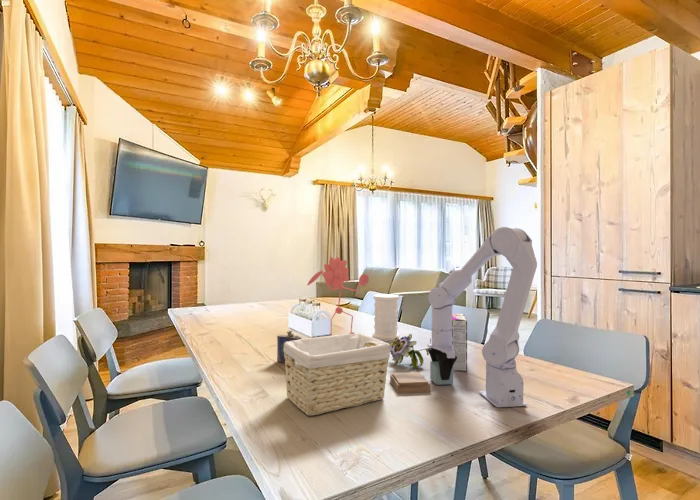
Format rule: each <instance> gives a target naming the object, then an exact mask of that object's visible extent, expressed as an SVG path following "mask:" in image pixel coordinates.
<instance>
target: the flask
mask: <svg viewBox="0 0 700 500" xmlns="http://www.w3.org/2000/svg"><path fill="white" fill-rule="evenodd" d="M292 332H293V330H289V331H286V334H278V335H277V337H276V340H277V343H276V344H277V345H276V346H277V350H276V357H277V358H276V361H277V363H280V364H285V358H284V351H283V350H284V343H285V342H286V341H288V342H289V341H293V340H299V339H302V337H301V336H298V334H297V335H295V334H294V333H292Z"/></svg>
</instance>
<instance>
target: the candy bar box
mask: <svg viewBox="0 0 700 500" xmlns="http://www.w3.org/2000/svg"><path fill="white" fill-rule="evenodd" d="M452 345H453V350H454V351H455V355H456V356H457V360H456V361H455V363H454V365H453V372H468V319H467V317H466V315H465V314H464V313H456V312H455V313H453V312H452Z"/></svg>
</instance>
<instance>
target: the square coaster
mask: <svg viewBox="0 0 700 500" xmlns="http://www.w3.org/2000/svg"><path fill="white" fill-rule="evenodd" d="M389 379H390V380H389V382H390V383H391V384H392V387H394V389H395V391H396V393H398V394H402V393H403V394H404V393H405V394H406V393H407V394H409V393H427V392H429V393H431V383H430V381H428V380H427V379H426V378H425V376H423V374H422V373H421V372H419V371H417V372H416V371H414V372H413V371H411V372H392V373H390V375H389Z"/></svg>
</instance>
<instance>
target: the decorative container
mask: <svg viewBox="0 0 700 500" xmlns="http://www.w3.org/2000/svg"><path fill="white" fill-rule="evenodd" d="M399 299H400V296H399V295H398V294H389V293H380V294H379V293H378V294H377V293H376V294H373V300H374V305H373V306H374V311H373V313H374V319H373V321H374V325H373V328H374V332H373V333H372V335H371V337H372V338H375V339H378V340H381V341H383V342H385V341H390V342H391V341H393V340H394V339H395V338H399V339H400V334H399V333H398V321H399V319H398V314H399V312H398V307H399V304H398V300H399Z"/></svg>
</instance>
